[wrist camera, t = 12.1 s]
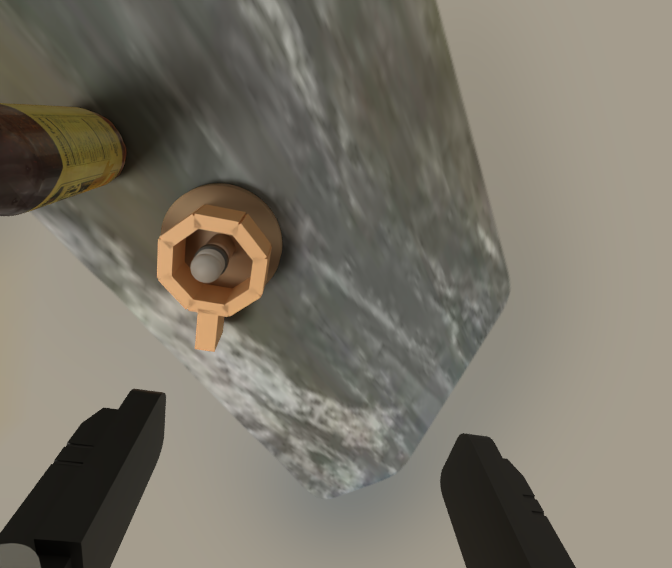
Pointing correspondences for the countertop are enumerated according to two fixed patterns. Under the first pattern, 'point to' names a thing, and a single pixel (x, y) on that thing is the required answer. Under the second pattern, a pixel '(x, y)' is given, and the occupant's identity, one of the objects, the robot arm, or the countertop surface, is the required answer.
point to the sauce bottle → (54, 155)
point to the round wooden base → (224, 235)
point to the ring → (208, 297)
